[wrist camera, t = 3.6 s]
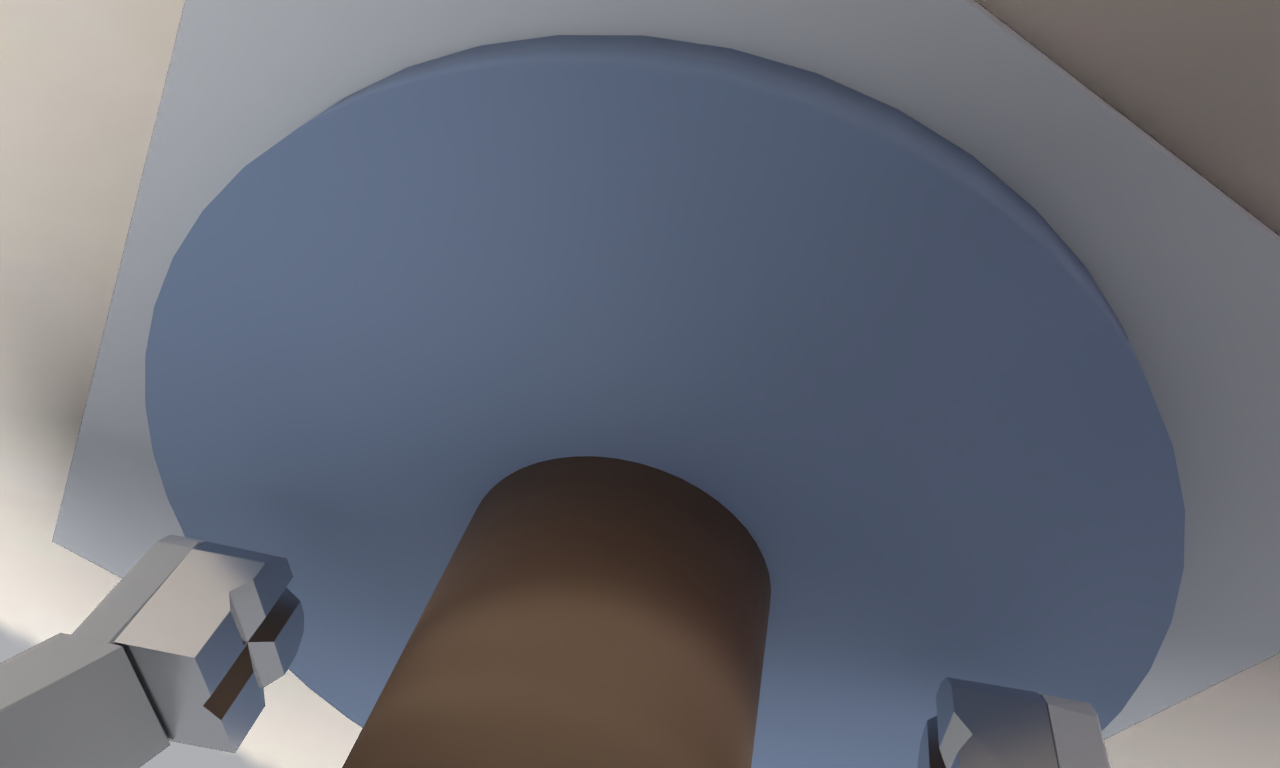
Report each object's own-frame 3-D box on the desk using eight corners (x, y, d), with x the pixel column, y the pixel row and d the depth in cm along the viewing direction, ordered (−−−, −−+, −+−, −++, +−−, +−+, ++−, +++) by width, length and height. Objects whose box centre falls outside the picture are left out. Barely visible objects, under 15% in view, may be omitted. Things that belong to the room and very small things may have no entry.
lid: (375, -279, 8) (-182, -315, 4) (1440, 496, 10) (1852, 1027, 6) (119, 539, 15) (-151, 822, 11) (745, 875, 17) (707, 1215, 13)
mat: (335, -494, 7) (310, -505, 7) (1579, 467, 10) (1604, 491, 9) (68, 525, 16) (52, 541, 15) (756, 892, 18) (754, 912, 18)
